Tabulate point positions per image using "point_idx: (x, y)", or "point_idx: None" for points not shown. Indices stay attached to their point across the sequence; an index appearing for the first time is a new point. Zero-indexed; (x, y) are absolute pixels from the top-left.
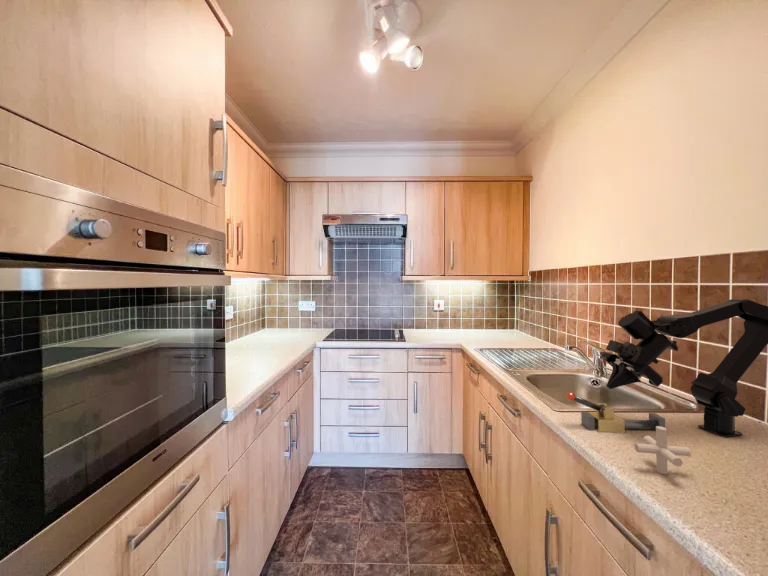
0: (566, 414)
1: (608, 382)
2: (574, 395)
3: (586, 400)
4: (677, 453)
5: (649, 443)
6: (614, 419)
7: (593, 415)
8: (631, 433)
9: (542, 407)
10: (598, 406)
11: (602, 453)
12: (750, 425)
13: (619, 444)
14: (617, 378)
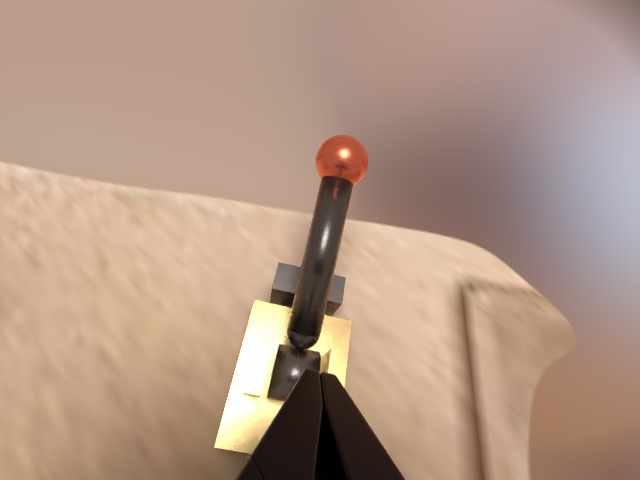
0: (430, 305)
1: (336, 396)
2: (324, 157)
3: (319, 244)
4: None
5: None
6: (239, 391)
7: None
8: (205, 474)
9: (494, 257)
10: (294, 317)
11: (106, 201)
12: None
13: (135, 313)
14: (237, 478)
